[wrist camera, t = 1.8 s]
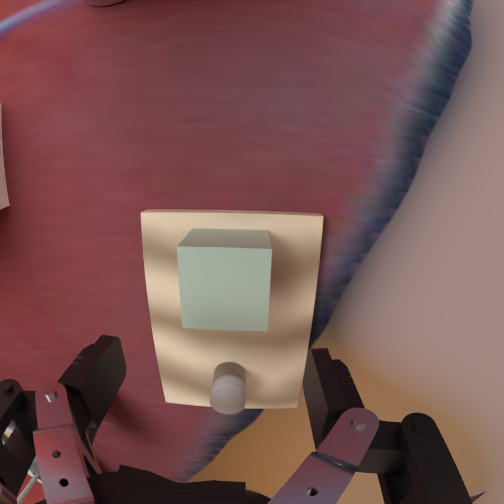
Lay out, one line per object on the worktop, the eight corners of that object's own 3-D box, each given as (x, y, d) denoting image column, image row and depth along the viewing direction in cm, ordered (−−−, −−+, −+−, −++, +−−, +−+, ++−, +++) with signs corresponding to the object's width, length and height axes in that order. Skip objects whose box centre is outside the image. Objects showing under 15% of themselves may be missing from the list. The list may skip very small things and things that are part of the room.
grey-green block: (192, 228, 22) (177, 246, 17) (267, 229, 22) (272, 248, 17) (195, 295, 23) (182, 327, 18) (264, 298, 23) (267, 331, 19)
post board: (147, 209, 23) (119, 222, 17) (319, 213, 23) (338, 227, 18) (169, 393, 28) (157, 428, 23) (295, 398, 29) (302, 435, 23)
